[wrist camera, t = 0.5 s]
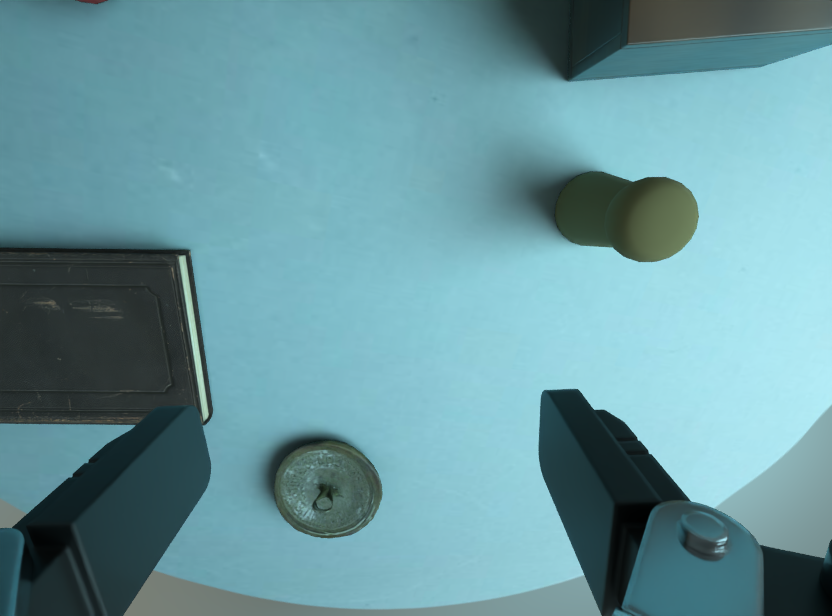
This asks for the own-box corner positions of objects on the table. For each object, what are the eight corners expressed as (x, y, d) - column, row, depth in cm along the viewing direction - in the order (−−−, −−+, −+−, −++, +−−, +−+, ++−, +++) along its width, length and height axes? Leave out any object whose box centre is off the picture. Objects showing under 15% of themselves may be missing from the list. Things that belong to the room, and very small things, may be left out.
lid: (317, 521, 47) (316, 566, 42) (251, 474, 42) (243, 520, 38) (397, 472, 45) (404, 513, 41) (338, 418, 41) (340, 459, 36)
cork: (547, 239, 36) (601, 265, 26) (565, 165, 34) (631, 160, 24) (615, 250, 37) (697, 280, 26) (637, 177, 35) (734, 177, 24)
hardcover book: (-83, 246, 36) (-115, 251, 34) (190, 249, 36) (176, 254, 34) (-28, 413, 41) (-53, 426, 39) (214, 415, 41) (202, 429, 39)
